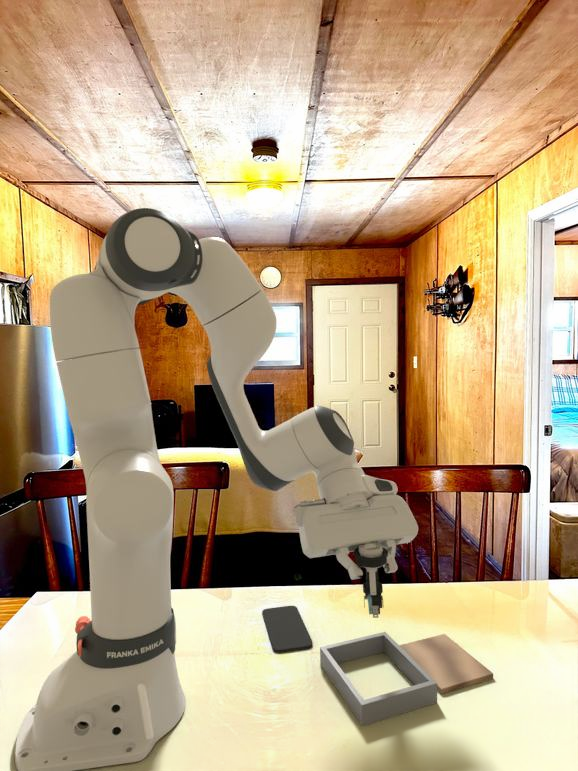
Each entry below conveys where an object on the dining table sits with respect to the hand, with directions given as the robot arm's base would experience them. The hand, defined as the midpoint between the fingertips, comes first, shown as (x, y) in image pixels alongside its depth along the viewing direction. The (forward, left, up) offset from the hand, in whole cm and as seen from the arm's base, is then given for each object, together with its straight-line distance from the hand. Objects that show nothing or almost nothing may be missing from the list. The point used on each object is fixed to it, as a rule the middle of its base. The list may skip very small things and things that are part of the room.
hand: (375, 574), depth 74 cm
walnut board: (+13, +1, -18) cm, 22 cm away
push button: (0, +1, -6) cm, 6 cm away
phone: (-8, +21, -18) cm, 29 cm away
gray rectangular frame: (0, +1, -18) cm, 18 cm away
